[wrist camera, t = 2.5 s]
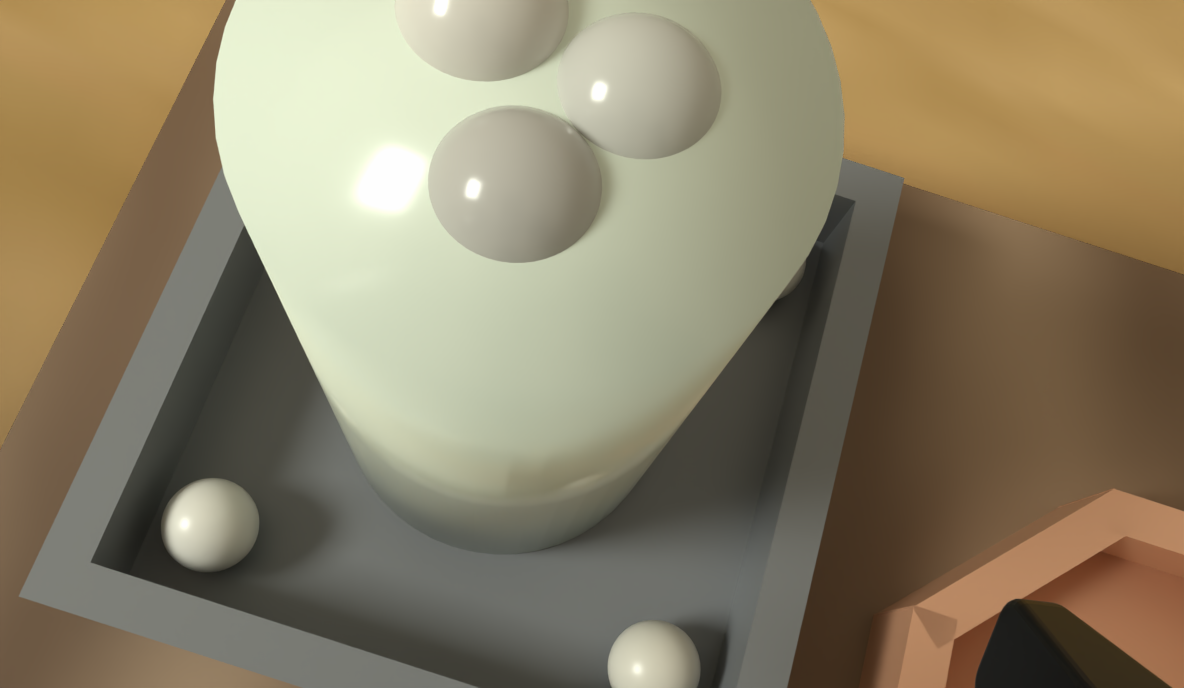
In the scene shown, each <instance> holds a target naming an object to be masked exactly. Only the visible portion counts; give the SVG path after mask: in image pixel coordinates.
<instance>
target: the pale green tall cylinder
mask: <svg viewBox="0 0 1184 688" xmlns="http://www.w3.org/2000/svg"><path fill="white" fill-rule="evenodd" d="M213 103H214V118H215V133H216V141H217V145H218V149H219V154H220V158H221V163H222V167H223V172H224V176H225V178H226V181H227V184H228V186H229V189H230V191H231V194H232V196H233V199H234V202H235V204H236V207H237V209H238V212H239V214H240V216H241V218H242V220H243V222H244V225H245V227H246V229H247V231H248V233H249V235H250V237H251V239H252V241H253V244H254V246H255V248H256V250H257V252H258V254H259V256H260V258H261V260H262V263H263V265H264V267H265V269H266V271H267V273H268V275H269V277H270V279H271V281H272V284H273V286H274V288H275V290H276V292H277V294H278V296H279V298H280V300H281V303H282V305H283V307H284V309H285V311H286V313H287V315H288V317H289V319H290V322H291V324H292V326H293V328H294V330H295V332H296V334H297V336H298V338H299V340H300V343H301V345H302V347H303V349H304V351H305V353H306V355H307V357H308V359H309V362H310V364H311V366H312V368H313V370H314V372H315V374H316V376H317V378H318V381H319V383H320V385H321V387H322V389H323V391H324V393H325V395H326V397H327V400H328V402H329V404H330V406H331V408H332V410H333V412H334V414H335V416H336V418H337V421H338V423H339V425H340V427H341V429H342V431H343V433H344V435H345V437H346V440H347V442H348V444H349V446H350V448H351V450H352V452H353V454H354V456H355V459H356V461H357V463H358V465H359V467H360V469H361V470H362V472H363V474H364V476H365V477H366V479H367V481H368V483H369V484H370V486H371V487H372V488H373V490H374V491H375V492H376V493H377V495H378V496H379V497H380V499H381V500H382V501H383V502H384V503H385V504H386V505H387V506H388V507H389V508H390V509H391V510H392V511H393V512H394V513H395V514H396V515H397V516H398V517H400V518H401V519H402V520H404V521H405V522H406V523H408V524H409V525H410V526H412V527H413V528H414V529H416V530H418V531H420V532H421V533H423V534H425V535H427V536H429V537H430V538H432V539H434V540H437V541H439V542H442V543H444V544H447V545H449V546H452V547H456V548H460V549H464V550H468V551H472V552H478V553H487V554H520V553H527V552H533V551H539V550H542V549H546V548H549V547H553V546H556V545H559V544H562V543H564V542H566V541H568V540H571V539H573V538H575V537H577V536H579V535H581V534H582V533H584V532H586V531H587V530H589V529H591V528H592V527H594V526H596V525H597V524H598V523H599V522H601V521H602V520H603V519H604V518H606V517H607V516H608V515H609V514H610V513H612V512H613V511H614V510H615V509H616V507H617V506H618V505H619V504H620V503H621V502H622V501H623V500H624V499H625V498H626V497H627V495H628V494H629V493H630V491H631V490H632V489H633V488H634V486H635V485H636V484H637V482H638V481H639V480H640V478H641V477H642V476H643V474H644V473H645V472H646V470H647V469H648V468H649V466H650V465H651V464H652V462H653V461H654V460H655V459H656V457H657V456H658V455H659V453H660V452H661V451H662V449H663V448H664V447H665V445H666V444H667V443H668V441H669V440H670V439H671V437H672V436H673V435H674V434H675V432H676V431H677V430H678V428H679V427H680V426H681V424H682V423H683V422H684V420H685V419H686V418H687V416H688V415H689V414H690V412H691V411H692V410H693V408H694V407H695V406H696V405H697V403H698V402H699V401H700V399H701V398H702V397H703V395H704V394H705V393H706V391H707V390H708V389H709V387H710V386H711V385H712V383H713V382H714V381H715V380H716V378H717V377H718V376H719V374H720V373H721V372H722V370H723V369H724V368H725V366H726V365H727V364H728V362H729V361H730V360H731V358H732V357H733V356H734V354H735V353H736V352H737V351H738V349H739V348H740V347H741V345H742V344H743V343H744V341H745V340H746V339H747V337H748V336H749V335H750V333H751V332H752V331H753V329H754V328H755V327H756V326H757V324H758V323H759V322H760V320H761V319H762V318H763V316H764V315H765V314H766V312H767V311H768V310H769V308H770V307H771V306H772V304H773V303H774V302H775V300H776V299H777V298H778V297H779V295H780V294H781V293H782V291H783V290H784V289H785V287H786V286H787V285H788V283H789V282H790V280H791V279H792V278H793V276H794V275H795V273H796V272H797V271H798V269H799V268H800V266H801V265H802V264H803V262H804V261H805V259H806V258H807V257H808V255H809V253H810V251H811V249H812V248H813V246H814V244H815V242H816V240H817V238H818V236H819V234H820V232H821V230H822V228H823V226H824V224H825V222H826V219H827V216H828V213H829V210H830V207H831V204H832V201H833V198H834V195H835V192H836V189H837V186H838V180H839V174H840V169H841V163H842V157H843V152H844V108H843V99H842V91H841V82H840V78H839V74H838V70H837V66H836V62H835V58H834V55H833V51H832V47H831V44H830V42H829V40H828V37H827V35H826V32H825V30H824V27H823V25H822V23H821V20H820V18H819V15H818V13H817V11H816V10H815V8H814V6H813V4H812V3H811V1H810V0H236V1H235V4H234V6H233V9H232V11H231V13H230V16H229V18H228V21H227V23H226V26H225V29H224V33H223V37H222V42H221V46H220V50H219V54H218V58H217V62H216V73H215V85H214V97H213Z"/></svg>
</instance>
